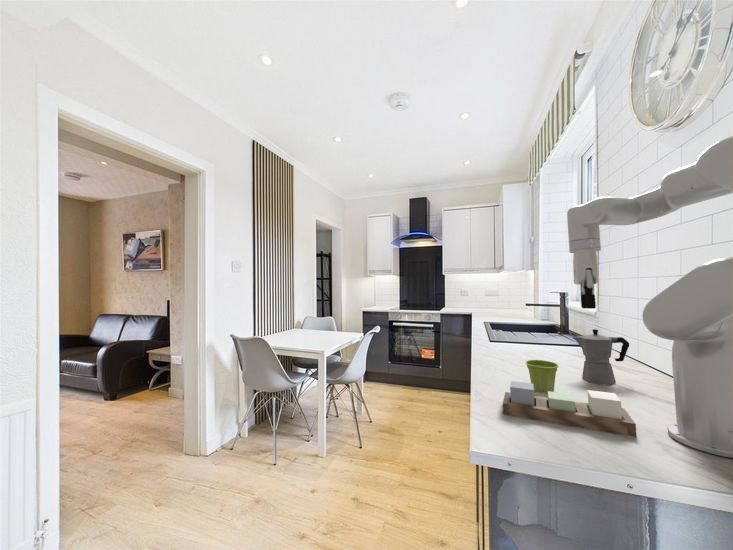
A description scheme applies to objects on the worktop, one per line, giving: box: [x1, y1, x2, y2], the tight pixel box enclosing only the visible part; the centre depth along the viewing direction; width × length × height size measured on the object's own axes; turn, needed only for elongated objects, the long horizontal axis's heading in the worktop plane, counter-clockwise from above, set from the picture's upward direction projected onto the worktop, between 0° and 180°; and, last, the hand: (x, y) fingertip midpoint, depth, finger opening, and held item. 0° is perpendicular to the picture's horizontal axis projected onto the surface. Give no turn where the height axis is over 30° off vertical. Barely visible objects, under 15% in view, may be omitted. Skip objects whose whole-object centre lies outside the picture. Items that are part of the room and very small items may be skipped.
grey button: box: [509, 380, 535, 406], centre depth 79 cm, size 6×6×5 cm
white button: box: [587, 389, 623, 419], centre depth 71 cm, size 6×6×5 cm
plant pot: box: [524, 359, 560, 394], centre depth 94 cm, size 9×9×9 cm
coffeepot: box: [572, 328, 630, 385], centre depth 101 cm, size 15×9×18 cm, turn 55°
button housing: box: [502, 391, 638, 438], centre depth 75 cm, size 27×9×3 cm, turn 60°
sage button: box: [547, 391, 576, 412], centre depth 75 cm, size 6×6×5 cm
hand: (588, 308), depth 85 cm, fingers closed
